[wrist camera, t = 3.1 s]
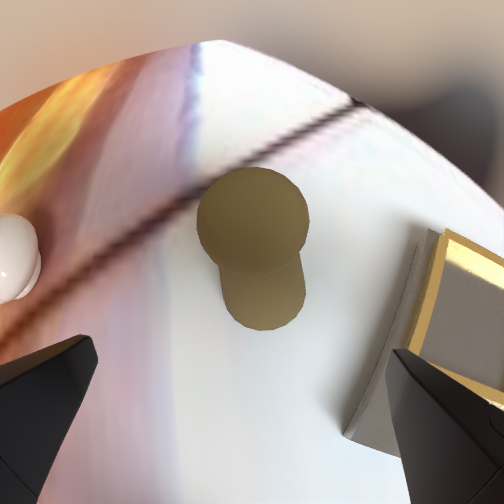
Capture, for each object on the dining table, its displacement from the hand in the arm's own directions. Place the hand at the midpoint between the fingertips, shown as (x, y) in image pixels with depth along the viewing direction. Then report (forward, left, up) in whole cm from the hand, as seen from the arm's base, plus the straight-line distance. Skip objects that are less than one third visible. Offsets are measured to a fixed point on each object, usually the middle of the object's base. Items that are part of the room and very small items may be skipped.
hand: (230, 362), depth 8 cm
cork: (+4, +5, -13) cm, 15 cm away
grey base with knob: (+12, -8, -13) cm, 19 cm away
